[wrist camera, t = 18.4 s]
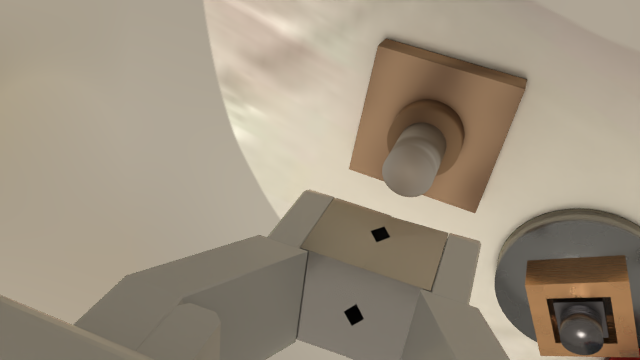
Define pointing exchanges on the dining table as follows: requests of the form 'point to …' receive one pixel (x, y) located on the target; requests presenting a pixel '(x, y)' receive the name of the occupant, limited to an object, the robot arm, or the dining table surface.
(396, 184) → the walnut stand
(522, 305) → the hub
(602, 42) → the dining table surface
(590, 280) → the wooden square frame
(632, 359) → the beverage can
